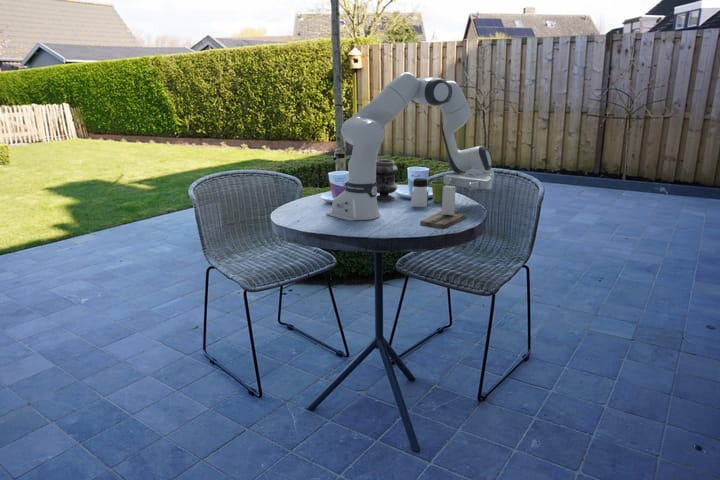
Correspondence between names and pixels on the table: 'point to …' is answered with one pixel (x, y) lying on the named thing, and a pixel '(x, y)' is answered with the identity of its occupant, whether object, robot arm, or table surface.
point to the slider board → (442, 220)
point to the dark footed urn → (385, 179)
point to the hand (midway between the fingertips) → (459, 184)
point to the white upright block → (448, 200)
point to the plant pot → (437, 190)
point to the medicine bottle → (419, 193)
